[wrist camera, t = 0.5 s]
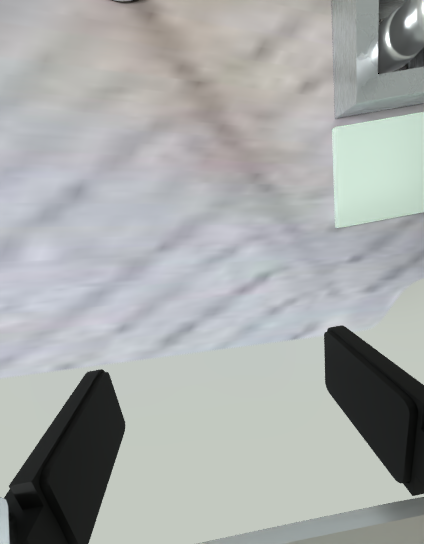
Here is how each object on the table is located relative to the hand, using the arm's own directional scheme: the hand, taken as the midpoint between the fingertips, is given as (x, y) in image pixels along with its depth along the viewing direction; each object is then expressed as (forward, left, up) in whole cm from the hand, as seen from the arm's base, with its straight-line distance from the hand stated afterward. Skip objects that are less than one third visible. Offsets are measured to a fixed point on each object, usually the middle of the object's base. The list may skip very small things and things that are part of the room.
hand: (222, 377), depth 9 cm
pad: (-8, +33, -31) cm, 46 cm away
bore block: (-25, +33, -31) cm, 52 cm away
